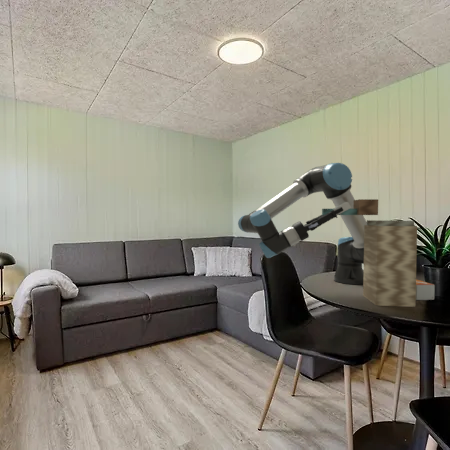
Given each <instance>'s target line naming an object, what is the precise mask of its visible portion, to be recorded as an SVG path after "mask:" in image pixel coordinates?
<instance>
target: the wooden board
mask: <svg viewBox="0 0 450 450" xmlns="http://www.w3.org/2000/svg"><path fill="white" fill-rule="evenodd" d="M366 222H367V225H364V264H363V272H364V277H363V285H362V286H363V287H362V289H363V290H362V293H363V294H362V297H364V298H365V299H367V300H368V301H369V302H370V303H372V304H374V305H375V306H381V307H382V306H383V307H410V308H411V307H412V308H416V303H417V302H416V301H417V300H416V279H417V259H418V258H417V252H418V251H417V250H418V249H417V247H418V245H417V244H418V226H417V225H416V226H415V220H373V219H371V220H370V219H369V220H368V219H367V220H366Z"/></svg>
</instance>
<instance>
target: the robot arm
mask: <svg viewBox="0 0 450 450" xmlns="http://www.w3.org/2000/svg"><path fill="white" fill-rule="evenodd" d="M352 178H353V174H352V171H351V169H350V167H349V166H347V165H346V164H344V163H342V162H331V163H328V164H325V165H320V166H315V167H313V168H311V169H309V170H307V171H306V172H304V173H303V174H301V175H300V176H299V177H298V178H296V179H295V180H293V183H292V184H291V185H289V186H288V187H286V188H285V189H284V190H282V191H281V192H280V193H277V194H276V195H275V196H274V197H272V198H271V199H269V200H268V201H266V202H265V203H263V204H262V205H261V206H259V207H258V208H256V209H255V210H253V211H251V212H250V213H249V214H244V215H242V216H241V217H240V218H239V219H238V222H237V225H238V228H239V229H240V230H241V231H242V232H244V233H249V234H251V233H252V234H253V233H254V234H258V236H259V238H260V240H261V242H259V248H260V249H261V251H262V253H263V255H264V257H265V258H267V259H271V258H272V257H274V256H277V255H279V254H281V253H283V252H284V251H286V250H287V249H289V248H291V247H292V246H293V247H296V246H297V244H298V243H300V241H304V240H306V239H308V238H310V236H309V231H314V230H316V229H317V228H319V227H321V226H322V225H324V224H326V223H328V222H329V221H331V220H333V219H335V218H336V219H337V218H338V216H340V218H341V219H342V221H343V223H344V225H345V227H346V229H347V230H348V232H349V234H350V236H345V237H344V236H343V237H339V239H338V241H337V267H336V270H335V273H334V275H333V281H334V282H337V283H340V284H346V285H362V284H363V277H364V268H363V265H364V225H367V220H366V219H365V215H339V214H341V213H343V212H344V211H346V210H348V209H353V205H354V200H356V199H355V198H354V195H353V194H352V191H351V189H352V187H353V186H352V181H353V179H352ZM315 193H324V195H325V197H326V199H327V200H331V201H332V202H333V204H334V206H335V207H334V208H332V209H333V210H332V211H331V212H329V213H327V214H325V215H322V214H321V215H318V216H317V217H313V218H312V219H310V220H307V221H306V222H305V223H306V224H303V223H302V222H301V221H299V220H298V221H297V222H295V223H293V224H292V225H290V226H288V227H286V228H284V229H283V230H281V231H278V229H277V228H276V225H275V223H274V222H273V218H275V217H276V216H278V215H279V214H281V212H283V211H285V210H286V209H287V208H289V207H290V206H292V205H293V204H294V203H296V202H298V201H299V200H301V198H307V197H308V196H310V195H312V194H315Z"/></svg>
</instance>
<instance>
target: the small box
mask: <svg viewBox="0 0 450 450" xmlns="http://www.w3.org/2000/svg"><path fill="white" fill-rule="evenodd" d="M435 287H436V286H435V284H434V283H430V282H426V281H424V280H420V279H417V278H416V301H429V300H430V301H432V300H435Z"/></svg>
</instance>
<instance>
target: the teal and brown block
mask: <svg viewBox="0 0 450 450" xmlns="http://www.w3.org/2000/svg"><path fill="white" fill-rule="evenodd" d="M333 209H334V208H322V209H321V215H325V214H327V213H329V212H331V211H332V210H333ZM340 215H363V216H379V199H377V198H376V199H375V198H374V199H372V198H371V199H368V198H367V199H355V200H354V205H353V209H348V210H346V211H344V212H343V213H341V214H339V215H338V216H340Z"/></svg>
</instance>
